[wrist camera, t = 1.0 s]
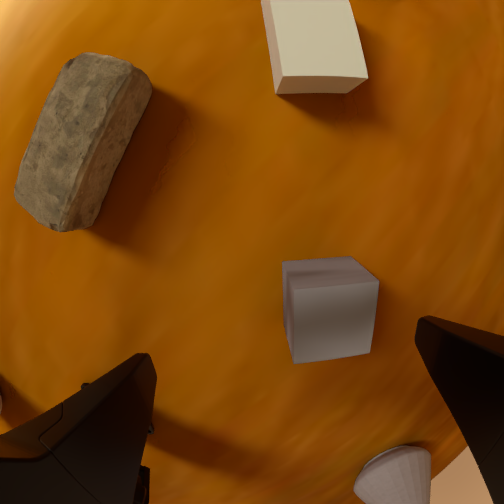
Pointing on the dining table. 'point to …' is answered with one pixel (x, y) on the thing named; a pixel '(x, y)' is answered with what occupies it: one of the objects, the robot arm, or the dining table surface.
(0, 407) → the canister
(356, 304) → the gray cube
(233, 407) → the dining table surface
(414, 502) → the coffee pot
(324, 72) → the beige brick
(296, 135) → the dining table surface
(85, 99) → the stone block
